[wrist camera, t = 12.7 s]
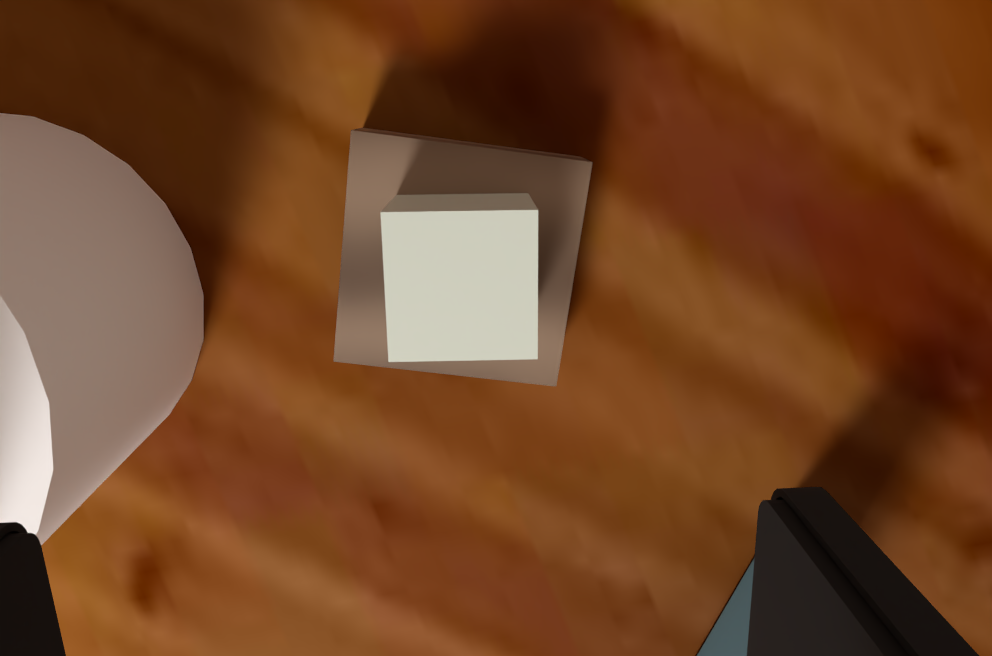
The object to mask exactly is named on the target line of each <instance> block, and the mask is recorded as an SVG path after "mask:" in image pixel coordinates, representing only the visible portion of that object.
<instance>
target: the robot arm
mask: <svg viewBox="0 0 992 656" xmlns="http://www.w3.org/2000/svg"><path fill="white" fill-rule="evenodd" d="M0 656H66V654H65V650H64V646H63V641H62V637H61V632H60V628H59V623H58V619H57V614H56V610H55V606H54V601H53V597H52V592H51V588H50V583H49V579H48V574H47V570H46V566H45V561H44V557H43V552H42V548H41V544H40V541H39V539H38V537H37V536H36V535H35V534H33V533H27V530H26V529H25V528H24V526H23V525H22V524H20V523H17V522H7V523H0ZM747 656H979V655H978V654H977V653H976V652H975V651H974V650H973V649H972V648H971V647H970V645H969V644H968V643H967V642H966V641H965V640H964V639H963V638H962V637H961V636H960V635H959V634H958V633H957V631H956V630H955V629H954V628H953V627H952V626H951V625H950V624H949V623H948V622H947V621H946V620H945V618H944V617H943V616H942V615H941V614H940V613H939V612H938V611H937V610H936V609H935V608H934V607H933V606H932V604H931V603H930V602H929V601H928V600H927V599H926V598H925V597H924V596H923V595H922V594H921V593H920V592H919V590H918V589H917V588H916V587H915V586H914V585H913V584H912V583H911V582H910V581H909V580H908V579H907V577H906V576H905V575H904V574H903V573H902V572H901V571H900V570H899V569H898V568H897V567H896V566H895V565H894V563H893V562H892V561H891V560H890V559H889V558H888V557H887V556H886V555H885V554H884V553H883V552H882V551H881V549H880V548H879V547H878V546H877V545H876V544H875V543H874V542H873V541H872V540H871V539H870V538H869V536H868V535H867V534H866V533H865V532H864V531H863V530H862V529H861V528H860V527H859V526H858V525H857V524H856V522H855V521H854V520H853V519H852V518H851V517H850V516H849V515H848V514H847V513H846V512H845V511H844V510H843V508H842V507H841V506H840V505H839V504H838V503H837V502H836V501H835V500H834V499H833V498H832V497H831V495H830V494H829V493H828V492H827V491H826V490H824V489H823V488H822V487H805V488H782V489H776V490H775V491H774V493H773V495H772V498H771V500H763V501H762V502H761V503H760V506H759V511H758V521H757V534H756V546H755V558H754V571H753V583H752V596H751V608H750V621H749V633H748V646H747Z"/></svg>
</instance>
